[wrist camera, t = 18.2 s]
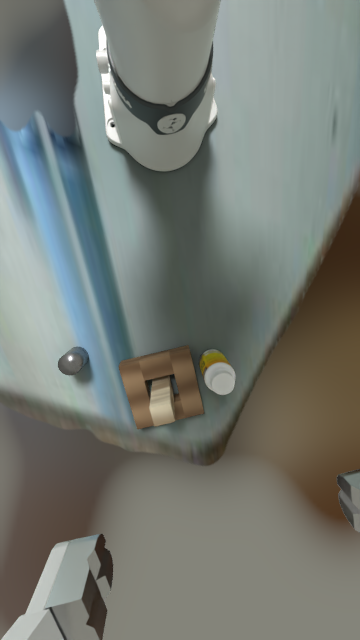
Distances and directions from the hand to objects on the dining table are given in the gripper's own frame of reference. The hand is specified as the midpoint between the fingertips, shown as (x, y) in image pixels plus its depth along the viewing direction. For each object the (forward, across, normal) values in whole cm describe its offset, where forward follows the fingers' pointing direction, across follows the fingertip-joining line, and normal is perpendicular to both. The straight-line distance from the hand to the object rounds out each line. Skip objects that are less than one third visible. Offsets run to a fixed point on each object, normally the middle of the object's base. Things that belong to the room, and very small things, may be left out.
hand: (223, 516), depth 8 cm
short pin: (+39, +21, +4) cm, 45 cm away
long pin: (+39, +6, +14) cm, 42 cm away
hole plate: (+39, +6, +14) cm, 42 cm away
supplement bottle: (+39, -5, +12) cm, 41 cm away
